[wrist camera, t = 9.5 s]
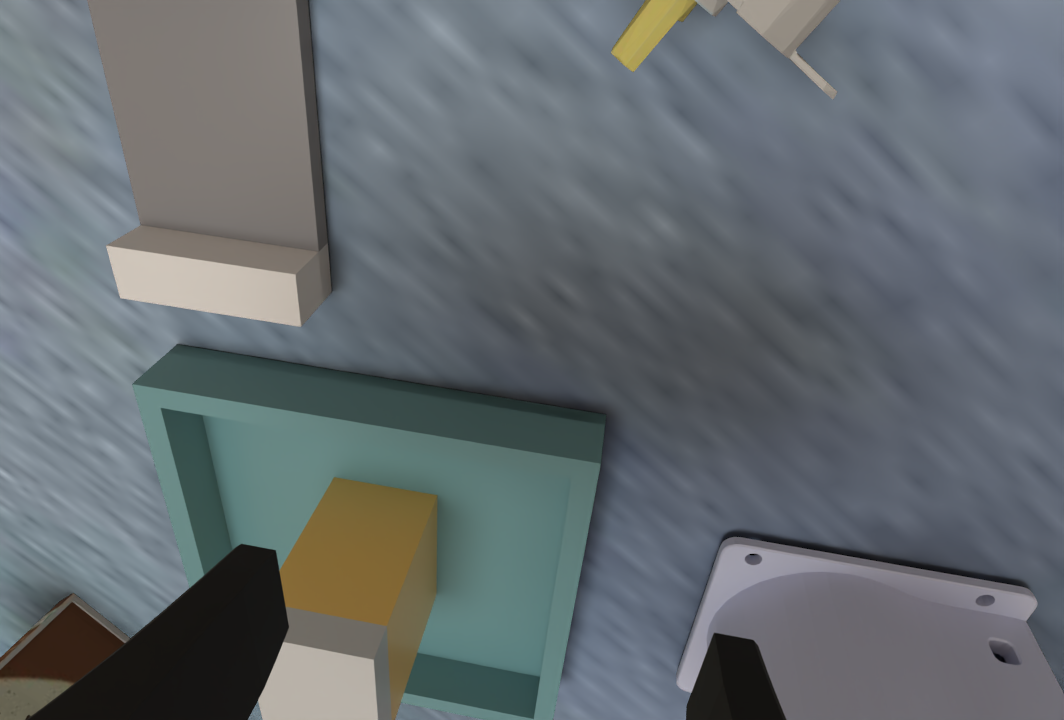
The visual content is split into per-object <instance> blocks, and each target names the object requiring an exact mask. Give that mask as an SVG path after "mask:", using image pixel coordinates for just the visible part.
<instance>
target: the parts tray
mask: <svg viewBox="0 0 1064 720" xmlns="http://www.w3.org/2000/svg"><path fill="white" fill-rule="evenodd" d="M132 386H133V389H134V393H135V396H136V400H137V403H138V407H139V411H140V414H141V418H142V421H143V425H144V428H145V432H146V435H147V439H148V442H149V446H150V449H151V453H152V456H153V460H154V463H155V467H156V471H157V474H158V478H159V481H160V485H161V488H162V492H163V495H164V499H165V502H166V506H167V509H168V513H169V516H170V520H171V523H172V527H173V531H174V534H175V538H176V541H177V545H178V548H179V552H180V555H181V559H182V562H183V566H184V569H185V573H186V576H187V580H188V584H189V587H191V586H192V585H194V584H195V583H196V582H197V581H198V580H199V579H200V578H202V577H203V576H204V575H205V574H206V573H207V572H208V571H209V570H211V569H212V568H213V567H214V566H215V565H216V564H217V563H218V562H220V561H221V560H222V559H223V558H224V557H225V556H226V555H227V554H229V553H230V552H231V551H232V550H233V549H234V548H235V547H237V546H238V545H240V544H246V545H251V546H257V547H262V548H267V549H273V550H276V553H277V559H278V565H279V571H280V569H281V567H282V565H283V564H284V562H285V560H286V559H287V557H288V555H289V553H290V552H291V550H292V548H293V547H294V545H295V543H296V541H297V540H298V538H299V536H300V535H301V533H302V531H303V529H304V528H305V526H306V524H307V523H308V521H309V519H310V518H311V516H312V514H313V512H314V511H315V509H316V507H317V506H318V504H319V502H320V500H321V499H322V497H323V495H324V494H325V492H326V490H327V488H328V487H329V485H330V483H331V482H332V480H333V478H334V477H336V478H342V479H348V480H353V481H359V482H365V483H370V484H376V485H382V486H388V487H393V488H399V489H405V490H411V491H416V492H422V493H428V494H434V495H437V586H436V598H435V601H434V604H433V607H432V610H431V613H430V616H429V619H428V622H427V625H426V628H425V631H424V634H423V637H422V640H421V643H420V646H419V649H418V652H417V655H416V658H415V661H414V664H413V667H412V670H411V673H410V676H409V679H408V682H407V685H406V688H405V691H404V694H403V697H402V700H401V703H405V704H410V705H415V706H420V707H425V708H430V709H435V710H440V711H445V712H449V713H454V714H459V715H464V716H469V717H474V718H479V719H484V720H553V717H554V712H555V706H556V701H557V696H558V690H559V685H560V680H561V674H562V669H563V664H564V658H565V653H566V648H567V642H568V637H569V631H570V626H571V621H572V615H573V610H574V605H575V599H576V594H577V589H578V583H579V578H580V573H581V567H582V562H583V557H584V551H585V546H586V541H587V535H588V530H589V524H590V519H591V514H592V508H593V503H594V498H595V492H596V487H597V482H598V476H599V471H600V466H601V458H602V449H603V440H604V430H605V421H606V415H605V414H599V413H593V412H587V411H580V410H574V409H568V408H562V407H556V406H550V405H544V404H538V403H532V402H526V401H519V400H513V399H507V398H501V397H495V396H489V395H483V394H477V393H471V392H465V391H458V390H452V389H446V388H440V387H434V386H428V385H422V384H416V383H410V382H404V381H397V380H391V379H385V378H379V377H373V376H367V375H361V374H355V373H349V372H343V371H336V370H330V369H324V368H318V367H312V366H306V365H300V364H294V363H288V362H281V361H275V360H269V359H263V358H257V357H251V356H245V355H239V354H233V353H227V352H220V351H214V350H208V349H202V348H196V347H190V346H184V345H178V344H177V345H176V346H175V347H174V348H173V349H171V350H170V351H169V352H168V353H167V354H166V355H165V356H163V357H162V358H161V359H160V360H159V361H158V362H157V363H155V364H154V365H153V366H152V367H151V368H150V369H149V370H148V371H146V372H145V373H144V374H143V375H142V376H141V377H140V378H138V379H137V380H136V381H135V382H134V383H133V384H132Z"/></svg>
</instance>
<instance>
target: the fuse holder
mask: <svg viewBox="0 0 1064 720" xmlns="http://www.w3.org/2000/svg"><path fill="white" fill-rule="evenodd" d="M87 1H88V5H89V9H90V14H91V18H92V22H93V26H94V30H95V35H96V39H97V43H98V47H99V51H100V56H101V60H102V64H103V68H104V72H105V77H106V81H107V85H108V89H109V93H110V98H111V102H112V106H113V110H114V114H115V119H116V123H117V127H118V131H119V135H120V140H121V144H122V148H123V152H124V157H125V161H126V165H127V169H128V173H129V178H130V182H131V186H132V190H133V194H134V199H135V203H136V207H137V211H138V215H139V220H140V224H141V225H140V226H139V227H137V228H135V229H134V230H132V231H130V232H129V233H127V234H125V235H123V236H122V237H120V238H118V239H117V240H115V241H113V242H112V243H110V244H108V245H106V247H107V251H108V254H109V258H110V262H111V265H112V269H113V273H114V276H115V280H116V284H117V287H118V291H119V295H120V298H123V299H130V300H136V301H142V302H148V303H155V304H161V305H167V306H174V307H180V308H186V309H192V310H199V311H205V312H211V313H218V314H224V315H230V316H236V317H243V318H249V319H255V320H262V321H268V322H274V323H280V324H287V325H293V326H299V327H301V326H302V325H303V324H304V323H305V322H306V321H307V320H308V319H309V317H310V316H311V315H312V314H313V313H314V312H315V311H316V309H317V308H318V307H319V306H320V305H321V304H322V303H323V301H324V300H325V299H326V298H327V297H328V296H329V295H330V294H331V292H332V288H331V276H330V264H329V251H328V239H327V227H326V215H325V202H324V190H323V178H322V166H321V153H320V141H319V129H318V117H317V104H316V92H315V80H314V68H313V56H312V43H311V31H310V19H309V7H308V0H87Z"/></svg>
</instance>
